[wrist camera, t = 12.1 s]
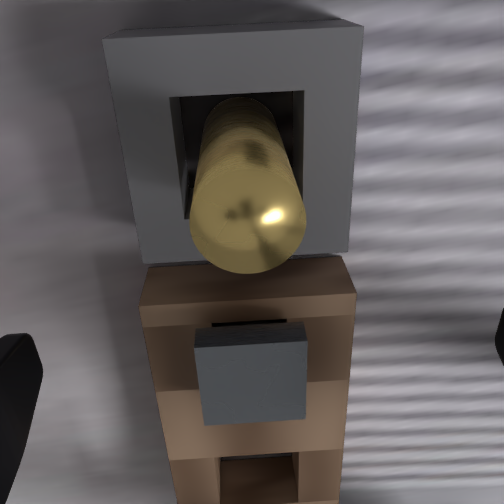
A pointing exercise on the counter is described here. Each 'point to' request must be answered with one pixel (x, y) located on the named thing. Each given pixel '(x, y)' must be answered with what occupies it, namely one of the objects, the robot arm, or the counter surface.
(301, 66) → the gray square frame
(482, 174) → the counter surface
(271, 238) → the brass rod
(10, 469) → the robot arm
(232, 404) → the gray rectangular block
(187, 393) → the socket block
